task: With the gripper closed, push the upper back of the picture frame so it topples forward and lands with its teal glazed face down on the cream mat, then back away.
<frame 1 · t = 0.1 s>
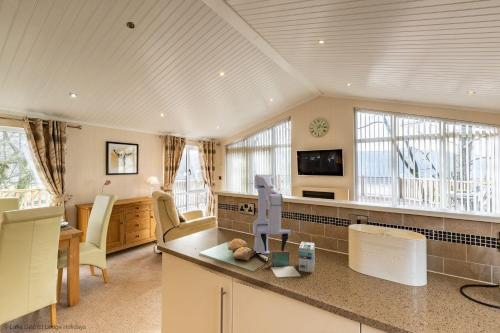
hand: (274, 250, 109), 10 cm above the countertop, fingers open, 7 cm apart
cream mat: (285, 271, 110), on the countertop
light bulb box: (306, 267, 115), on the countertop
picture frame: (280, 265, 117), on the countertop
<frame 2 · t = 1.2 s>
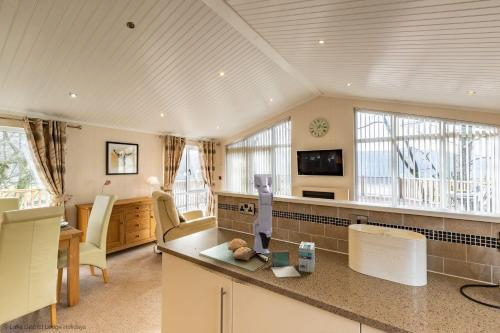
hand: (265, 248, 111), 10 cm above the countertop, fingers closed
nothing on the countertop moved.
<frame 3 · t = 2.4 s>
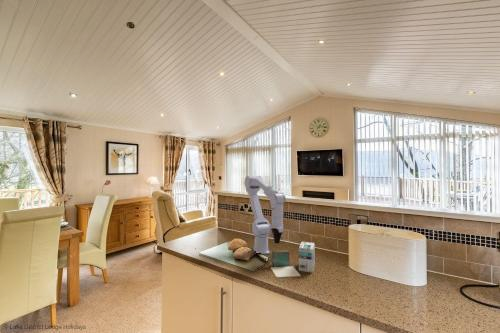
hand: (276, 242, 124), 9 cm above the countertop, fingers closed
nothing on the countertop moved.
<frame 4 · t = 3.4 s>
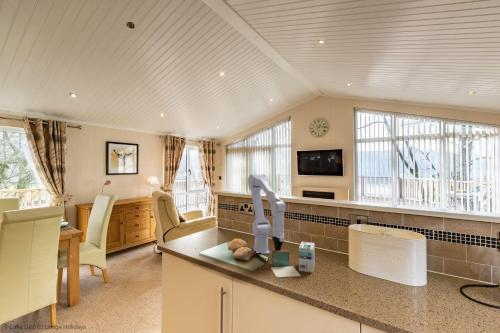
hand: (277, 251, 122), 5 cm above the countertop, fingers closed
nothing on the countertop moved.
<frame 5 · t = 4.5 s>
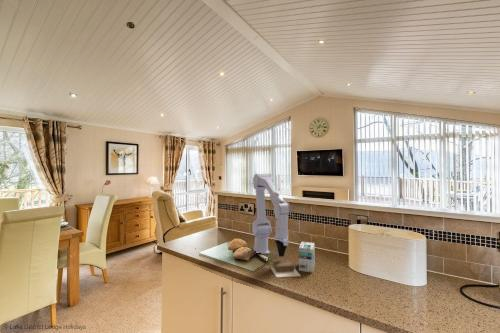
hand: (281, 256, 116), 5 cm above the countertop, fingers closed
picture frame: (281, 262, 116), point 2 cm above the countertop, tilted 90°, touching cream mat
everything else where it was.
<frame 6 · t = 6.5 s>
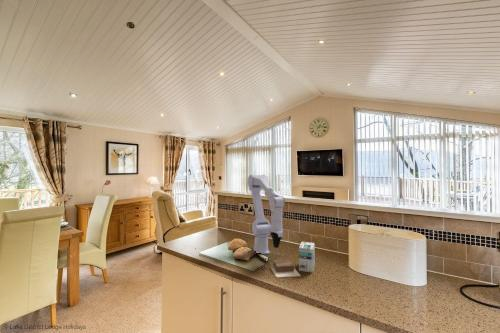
hand: (276, 247, 122), 7 cm above the countertop, fingers closed
nothing on the countertop moved.
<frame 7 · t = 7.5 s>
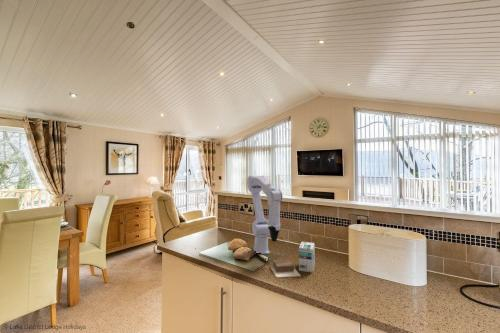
hand: (274, 241, 122), 10 cm above the countertop, fingers closed
nothing on the countertop moved.
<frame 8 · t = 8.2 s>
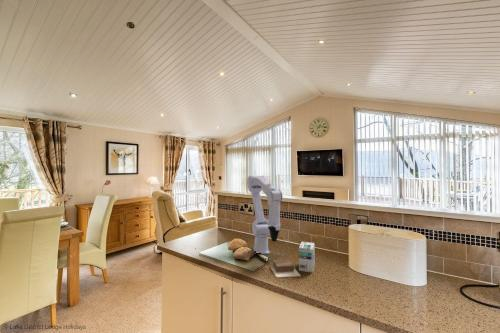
hand: (274, 241, 122), 10 cm above the countertop, fingers closed
nothing on the countertop moved.
at the end: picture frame tilted 90°; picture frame inside the target area (4.8 cm from its centre), point 1.7 cm above the countertop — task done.
